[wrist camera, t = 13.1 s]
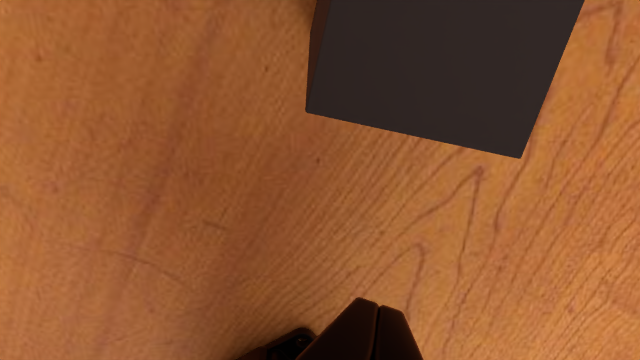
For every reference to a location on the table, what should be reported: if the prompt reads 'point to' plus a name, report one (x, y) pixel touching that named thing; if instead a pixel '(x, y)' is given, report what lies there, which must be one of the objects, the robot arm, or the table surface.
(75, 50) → the table surface
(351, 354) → the robot arm
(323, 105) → the stepped dark grey block
